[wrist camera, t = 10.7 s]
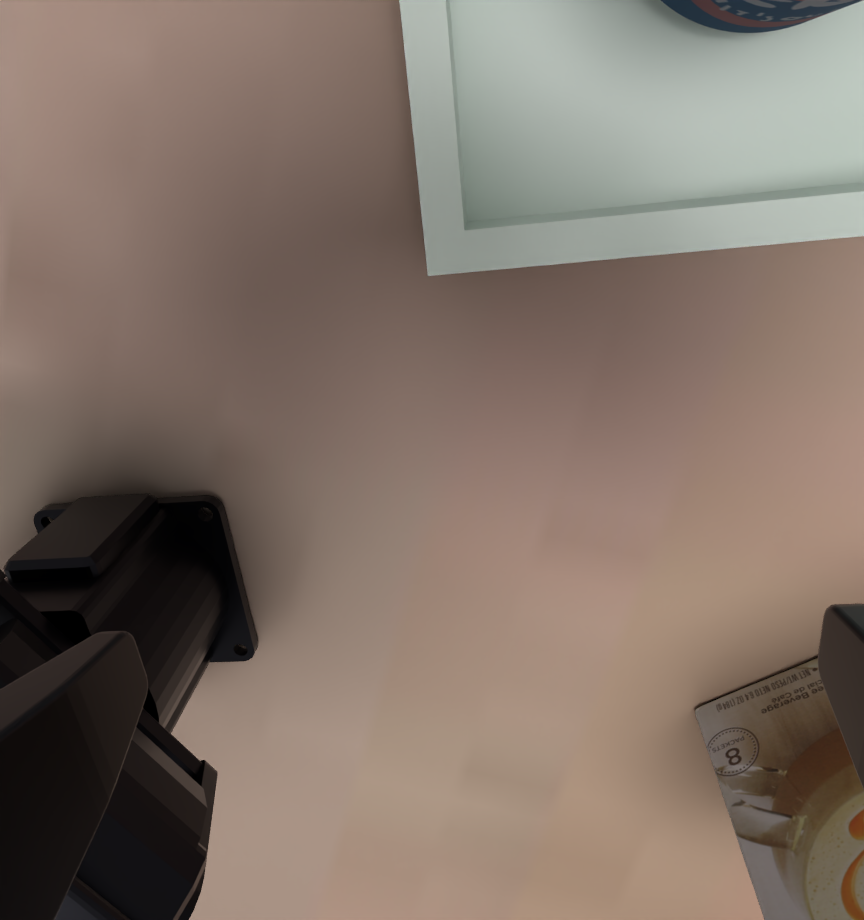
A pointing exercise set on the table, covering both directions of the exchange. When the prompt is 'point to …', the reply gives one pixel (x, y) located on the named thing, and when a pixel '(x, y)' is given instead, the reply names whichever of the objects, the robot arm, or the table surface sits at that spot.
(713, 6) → the soda can
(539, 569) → the table surface
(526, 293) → the table surface
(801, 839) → the coffee box
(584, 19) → the tray
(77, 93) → the table surface
